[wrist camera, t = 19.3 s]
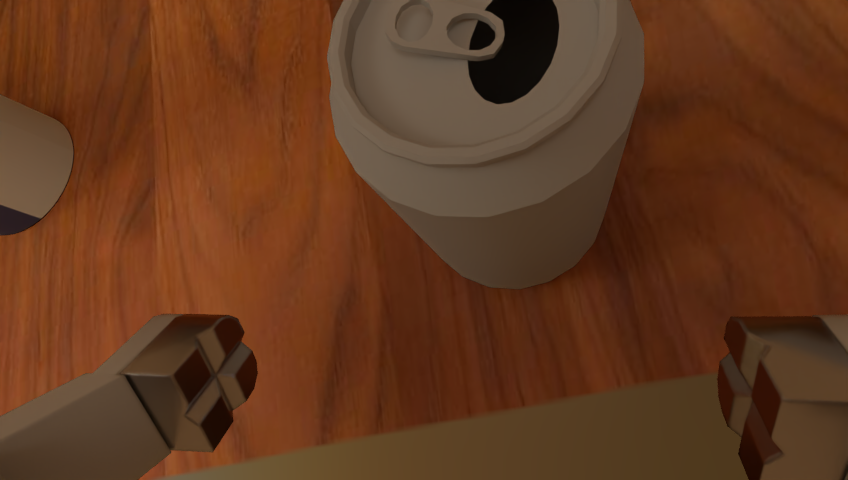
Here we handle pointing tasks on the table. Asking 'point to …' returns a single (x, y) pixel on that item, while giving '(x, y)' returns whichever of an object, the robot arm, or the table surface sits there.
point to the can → (489, 122)
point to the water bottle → (30, 165)
